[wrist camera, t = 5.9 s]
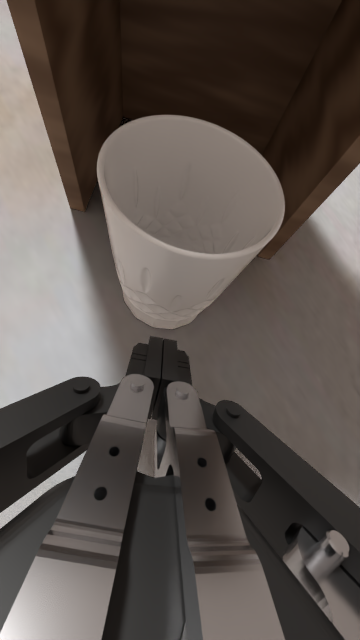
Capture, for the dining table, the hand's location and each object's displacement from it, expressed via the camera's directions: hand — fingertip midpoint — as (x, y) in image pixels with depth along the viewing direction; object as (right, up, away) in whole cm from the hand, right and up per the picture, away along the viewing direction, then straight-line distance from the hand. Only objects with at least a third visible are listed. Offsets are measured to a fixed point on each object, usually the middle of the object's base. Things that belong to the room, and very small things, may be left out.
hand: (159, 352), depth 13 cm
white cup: (0, +4, +6) cm, 7 cm away
